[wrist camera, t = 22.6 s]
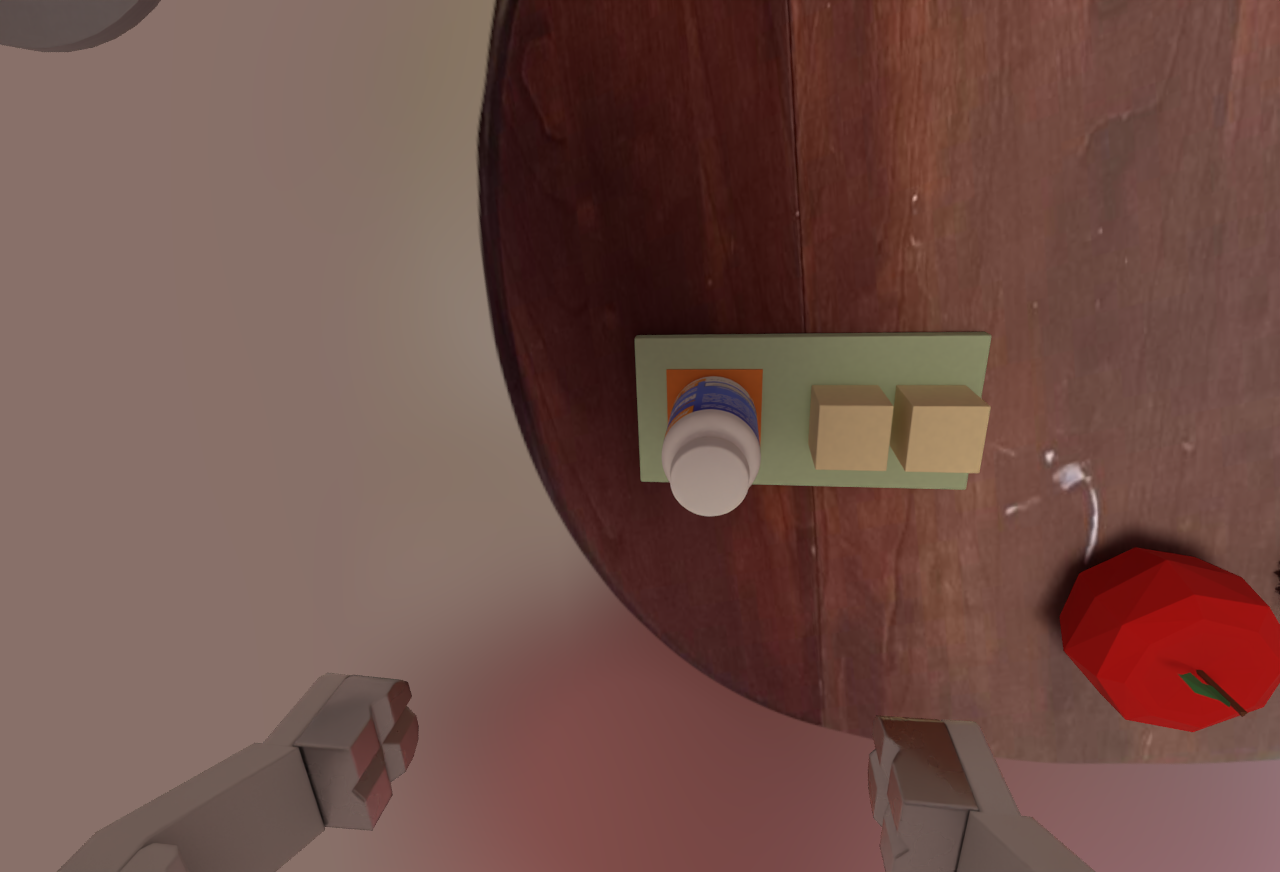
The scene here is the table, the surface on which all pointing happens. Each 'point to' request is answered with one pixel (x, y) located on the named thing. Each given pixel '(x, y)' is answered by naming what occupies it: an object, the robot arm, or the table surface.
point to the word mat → (794, 391)
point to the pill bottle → (711, 446)
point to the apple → (1172, 639)
